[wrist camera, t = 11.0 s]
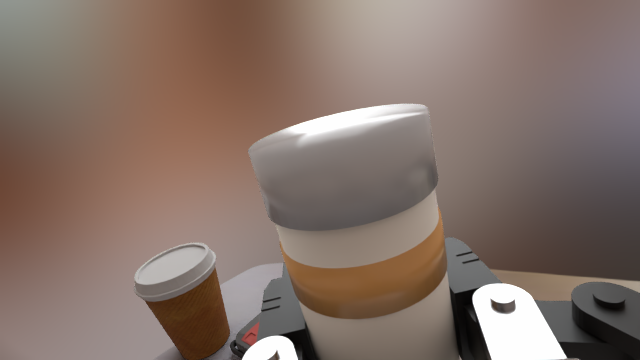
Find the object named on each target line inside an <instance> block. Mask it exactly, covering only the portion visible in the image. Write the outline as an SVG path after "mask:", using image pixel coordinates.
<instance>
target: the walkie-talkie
mask: <svg viewBox="0 0 640 360" xmlns="http://www.w3.org/2000/svg"><path fill="white" fill-rule="evenodd" d="M260 315H261V313H260V314H259V315H257V316H256V317H255V318H254V319H253V320H252V321H250V322H249V323H248V324H247V325H246V326H245V327H244V328H242V329H241V330H240V331H239V332H238V334H237V336H236V340H234V341H233V342H231V344H230V348H231V350H232V352H233V353H234V354H236V355H237V356H239V357H240V358H242V359H243V357H244V355H245V353H246V352H247V351H248V349H249V348H250V347H251V346H253V345H254V344H255V343H256V341H257V334H258V328H259V321H260ZM235 346H237V347H238V349H236V348H234V347H235Z"/></svg>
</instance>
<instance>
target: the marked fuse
mask: <svg viewBox="0 0 640 360" xmlns="http://www.w3.org/2000/svg"><path fill="white" fill-rule="evenodd" d="M248 152H249V156H250V159H251V162H252V165H253V168H254V172H255V175H256V178H257V181H258V185H259V188H260V191H261V194H262V197H263V200H264V204H265V207H266V210H267V214H268V217H269V218H270V219H271V221H273V222H274V223H275V225H276V228H277V231H278V234H279V237H280V248H281V251H282V255H283V258H284V261H285V264H286V268H287V271H288V274H289V277H290V281H291V284H292V287H293V290H294V293H295V295H296V297H297V298H298V300H299V303H300V306H301V309H302V313H303V316H304V319H305V322H306V325H307V328H308V332H309V335H310V338H311V341H312V345H313V348H314V351H315V354H316V358H317V360H460V358H459V351H458V345H457V338H456V331H455V324H454V317H453V310H452V303H451V296H450V289H449V282H448V275H447V266H448V261H447V253H446V246H445V239H444V232H443V225H442V218H441V212H440V210H439V208H438V206H437V200H436V192H435V187H436V186H437V183H438V173H437V166H436V159H435V152H434V145H433V138H432V130H431V123H430V116H429V109H428V108H427V107H426V106H423V105H419V104H393V105H383V106H376V107H370V108H363V109H357V110H352V111H347V112H343V113H338V114H334V115H330V116H326V117H322V118H318V119H315V120H311V121H308V122H304V123H301V124H298V125H295V126H292V127H289V128H287V129H284V130H281V131H279V132H276V133H274V134H271V135H269V136H267V137H265V138H263V139H261V140H259V141H257V142H256V143H255V144H253V145H252V146H251V147H250V148H249V150H248Z"/></svg>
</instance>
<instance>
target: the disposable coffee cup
mask: <svg viewBox="0 0 640 360" xmlns="http://www.w3.org/2000/svg"><path fill="white" fill-rule="evenodd" d="M215 265H216V255H215V253H214V252H213V251H211V250H210V249H209V248H208V246H207V245H205V244H203V243H188V244H184V245H180V246H177V247H174V248H171V249H168V250H166V251H164V252H162V253H160V254H158V255H157V256H155V257H153V258H151V259H150V260H148V261H147V262H146V263H144V264H143V265H142V266H141V267H140V268H139V269H138V271H137V272H136V274H135V278H134V281H135V287H134V290H135V293H136V295H137V296H139V297H141V298H142V299H143V300H145V302H146V303H147V305H148V306H149V308H150V309H151V310H152V312H153V313H154V315H155V316H156V318H157V319H158V320H159V322H160V324H161V325H162V326H163V328H164V329H165V331H166V332H167V334H168V336H169V337H170V338H171V340H172V341H173V343H174V344H175V346H176V347H177V349H178V350H179V351H180V353H181V354H182V356H183V357H184V358H185V359H187V360H199V359H203V358H206V357H208V356H210V355H212V354H213V353H215V352H216V351H217V350H219V349H220V348H221V347H222V346H223V345H224V344H225V342H226V341H227V339H228V337H229V334H230V329H229V325H228V321H227V316H226V312H225V308H224V303H223V299H222V295H221V290H220V286H219V281H218V277H217V273H216V268H215Z"/></svg>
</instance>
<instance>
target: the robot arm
mask: <svg viewBox="0 0 640 360" xmlns="http://www.w3.org/2000/svg"><path fill="white" fill-rule="evenodd" d="M445 246H446V253H447V261H448V266H447V275H448V282H449V289H450V296H451V303H452V310H453V317H454V324H455V331H456V338H457V345H458V351H459V355H460V357H461V359H462V360H640V293H638V292H636V291H634V290H631V289H629V288H626V287H623V286H620V285H617V284H612V283H606V282H589V283H584V284H581V285H579V286H577V287H576V288H574V290H573V291H572V294H571V297H572V301H539V300H533V298H532V297H531V296H530V295H529V294H528V293H527V292H526V291H524V290H523V289H521V288H518V287H516V286H513V285H508V284H503V283H502V282H501V281H500V280H499V279H498V278H497V277H496V276H495V275H494V274H493V273H492V272H491V271H490V269H489V268H488V267H487V266H486V265H485V264H484V263H483V262H482V261H480V260H479V258H478V257H477V256H476V255H475V254H474V253H473V252H472V250H471V249H470V248H469V247H468V246H467V245H466V244H465V243H463V242H461V241H459V240H457V239H455V238H453V237H449V238H445ZM261 311H262V312H261V315H260V321H259V328H258V334H257V341H256V343H255V344H254V345H253V346H251V347H250V348H249V349H248V351H247V352H246V353H245V355H244V357H243V359H242V360H317V358H316V354H315V351H314V348H313V345H312V341H311V338H310V335H309V332H308V328H307V325H306V322H305V319H304V316H303V313H302V309H301V306H300V303H299V300H298V298H297V297H296V295H295V293H294V290H293V287H292V284H291V281H290V277H289V274H288V271H287V268H286V264H285V262H284V263H283V275H282V278H278V279H273V280H271V282H270V283H269V284H268V286H267V287H266V289H265V290H264V296H263V303H262V309H261Z"/></svg>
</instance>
